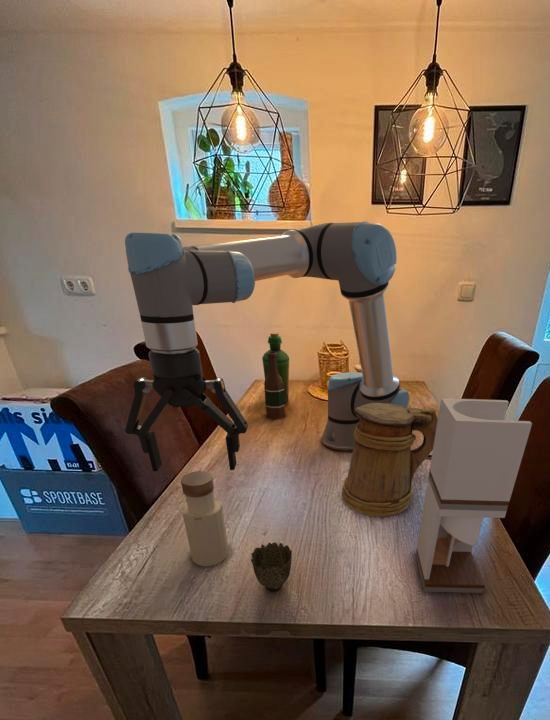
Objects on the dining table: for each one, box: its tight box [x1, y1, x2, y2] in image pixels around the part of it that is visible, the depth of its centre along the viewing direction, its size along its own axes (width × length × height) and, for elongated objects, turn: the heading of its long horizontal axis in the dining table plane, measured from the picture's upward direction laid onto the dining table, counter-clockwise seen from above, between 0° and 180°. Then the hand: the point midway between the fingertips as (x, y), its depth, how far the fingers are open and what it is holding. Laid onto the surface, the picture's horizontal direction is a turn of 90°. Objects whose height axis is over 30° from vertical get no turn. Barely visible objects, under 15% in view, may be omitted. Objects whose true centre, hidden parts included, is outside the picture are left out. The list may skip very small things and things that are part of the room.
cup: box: [251, 541, 293, 593], centre depth 74 cm, size 8×7×8 cm
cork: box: [180, 470, 215, 497], centre depth 76 cm, size 6×6×6 cm
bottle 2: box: [261, 332, 290, 405], centre depth 160 cm, size 11×11×28 cm
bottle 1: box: [181, 490, 229, 567], centre depth 79 cm, size 7×7×16 cm
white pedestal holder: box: [415, 397, 533, 594], centre depth 72 cm, size 11×11×35 cm
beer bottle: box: [263, 352, 286, 420], centre depth 148 cm, size 8×8×24 cm
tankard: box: [340, 403, 438, 517], centre depth 99 cm, size 18×24×25 cm
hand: (195, 467), depth 73 cm, fingers open, 13 cm apart
